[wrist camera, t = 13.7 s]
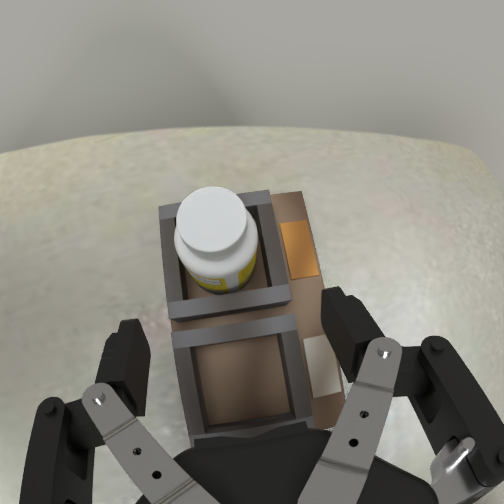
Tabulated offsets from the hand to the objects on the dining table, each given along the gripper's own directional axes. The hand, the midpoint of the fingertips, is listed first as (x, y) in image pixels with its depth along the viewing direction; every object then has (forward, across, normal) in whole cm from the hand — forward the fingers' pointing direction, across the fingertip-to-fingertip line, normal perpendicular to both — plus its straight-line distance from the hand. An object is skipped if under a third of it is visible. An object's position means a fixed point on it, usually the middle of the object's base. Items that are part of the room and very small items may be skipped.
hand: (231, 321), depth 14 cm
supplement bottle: (+13, 0, +5) cm, 14 cm away
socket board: (+10, -1, +9) cm, 14 cm away
